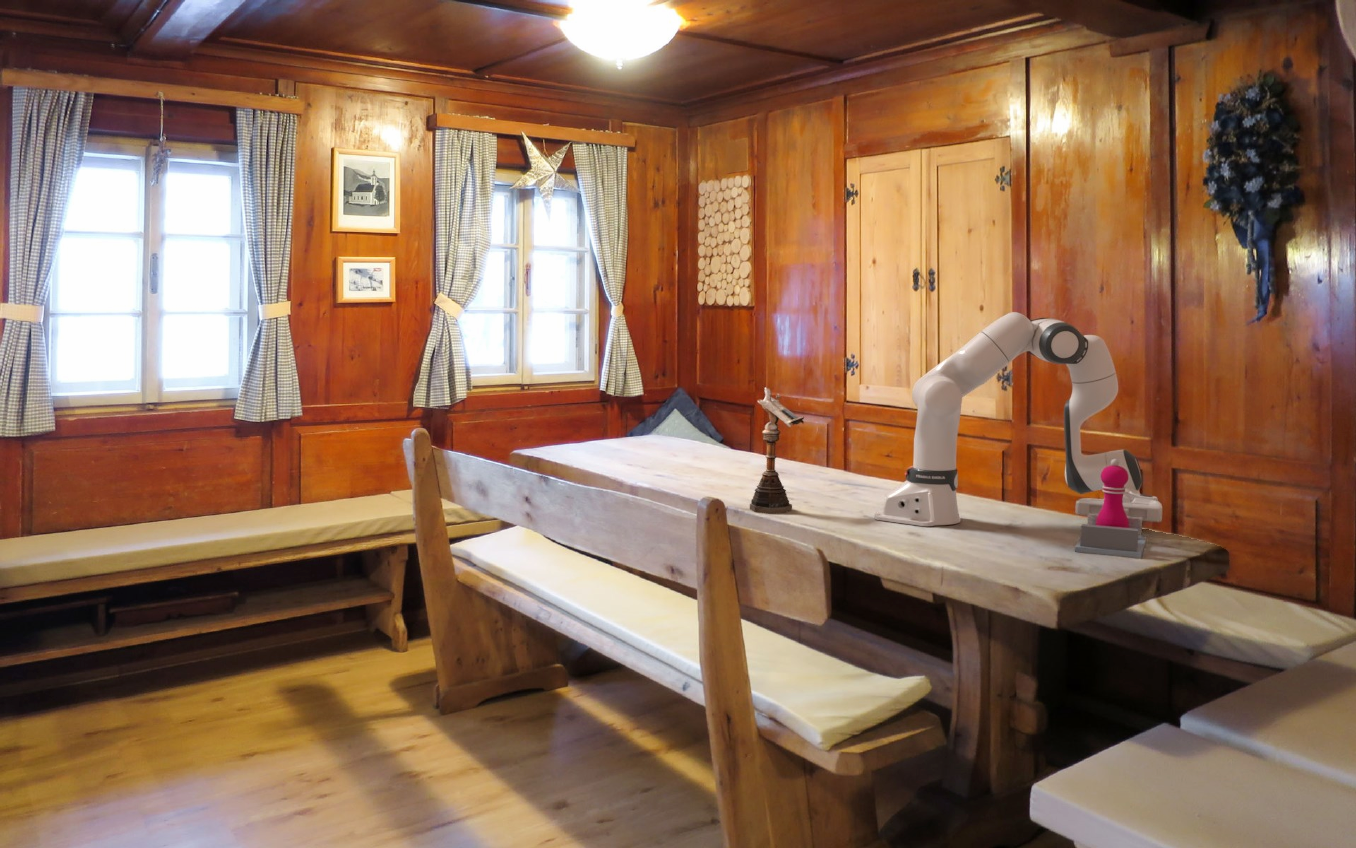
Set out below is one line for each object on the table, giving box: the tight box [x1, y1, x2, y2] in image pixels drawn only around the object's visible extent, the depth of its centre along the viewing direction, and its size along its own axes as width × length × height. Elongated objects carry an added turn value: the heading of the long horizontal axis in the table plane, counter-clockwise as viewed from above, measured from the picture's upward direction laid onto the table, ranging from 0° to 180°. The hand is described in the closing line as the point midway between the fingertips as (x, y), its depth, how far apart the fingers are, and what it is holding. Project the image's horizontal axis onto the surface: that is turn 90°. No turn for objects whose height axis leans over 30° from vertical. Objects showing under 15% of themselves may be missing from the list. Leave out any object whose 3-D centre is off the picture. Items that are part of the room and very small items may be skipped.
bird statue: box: [749, 387, 805, 515], centre depth 285 cm, size 17×13×35 cm
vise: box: [1074, 523, 1147, 559], centre depth 241 cm, size 14×20×6 cm
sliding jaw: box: [1087, 513, 1143, 539], centre depth 247 cm, size 12×2×5 cm, turn 63°
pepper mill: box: [1096, 459, 1129, 528], centre depth 239 cm, size 7×7×20 cm
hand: (1116, 515), depth 252 cm, fingers closed
